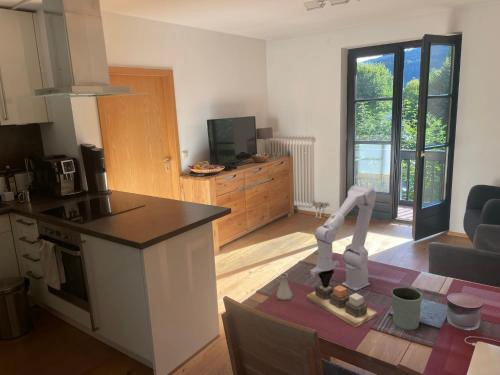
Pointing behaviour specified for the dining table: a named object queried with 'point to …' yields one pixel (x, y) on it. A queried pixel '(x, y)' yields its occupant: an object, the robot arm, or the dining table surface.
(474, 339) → the dining table surface
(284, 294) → the flask
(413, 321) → the green cylindrical pot
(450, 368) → the dining table surface
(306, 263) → the dining table surface
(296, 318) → the dining table surface
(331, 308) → the button panel
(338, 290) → the terracotta button
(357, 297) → the grey button
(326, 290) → the offwhite button
